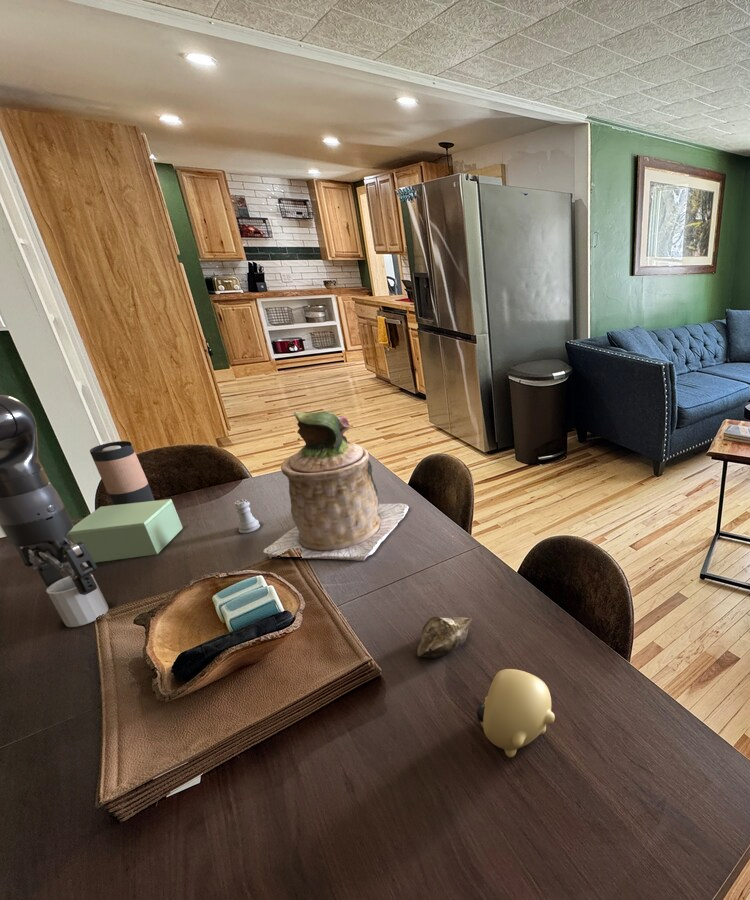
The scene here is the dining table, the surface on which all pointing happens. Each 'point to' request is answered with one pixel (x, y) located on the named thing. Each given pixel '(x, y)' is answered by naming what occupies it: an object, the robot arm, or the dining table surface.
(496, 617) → the dining table surface
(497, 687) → the toy pig
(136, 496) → the travel mug
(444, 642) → the fossilized seashell
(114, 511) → the container lid
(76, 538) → the container
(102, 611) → the cup
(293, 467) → the cookie jar
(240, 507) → the rook chess piece
